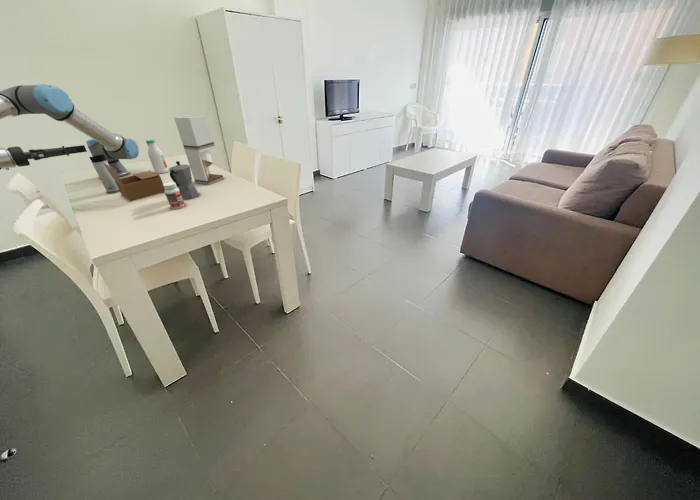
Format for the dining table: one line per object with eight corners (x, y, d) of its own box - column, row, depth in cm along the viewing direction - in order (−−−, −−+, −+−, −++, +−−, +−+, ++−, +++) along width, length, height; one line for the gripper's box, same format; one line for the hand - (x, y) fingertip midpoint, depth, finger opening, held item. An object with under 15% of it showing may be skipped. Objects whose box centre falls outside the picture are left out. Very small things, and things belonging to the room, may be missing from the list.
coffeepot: (186, 191, 152) (175, 158, 142) (204, 191, 152) (193, 157, 142) (171, 203, 139) (157, 166, 129) (190, 202, 139) (177, 166, 129)
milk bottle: (164, 173, 182) (152, 141, 171) (152, 174, 182) (139, 141, 172) (171, 170, 189) (159, 138, 178) (159, 170, 189) (147, 139, 178)
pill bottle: (183, 208, 133) (174, 185, 127) (169, 209, 132) (159, 186, 126) (186, 203, 138) (178, 181, 132) (172, 204, 137) (164, 182, 131)
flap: (122, 183, 137) (121, 184, 137) (114, 178, 145) (113, 178, 145) (112, 167, 132) (111, 167, 132) (103, 162, 140) (102, 163, 140)
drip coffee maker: (209, 184, 161) (189, 117, 143) (195, 182, 165) (174, 117, 146) (223, 178, 170) (206, 115, 152) (210, 176, 174) (191, 114, 155)
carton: (130, 201, 142) (122, 183, 137) (121, 195, 150) (113, 178, 145) (166, 191, 153) (159, 174, 148) (156, 186, 161) (149, 170, 156)
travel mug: (114, 193, 152) (95, 156, 142) (104, 193, 153) (85, 155, 143) (124, 189, 157) (107, 153, 147) (114, 189, 159) (96, 152, 148)
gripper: (15, 165, 119) (85, 155, 134) (19, 168, 111) (93, 158, 127) (4, 146, 115) (77, 138, 131) (7, 149, 108) (84, 140, 124)
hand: (85, 148), depth 129 cm, fingers closed
